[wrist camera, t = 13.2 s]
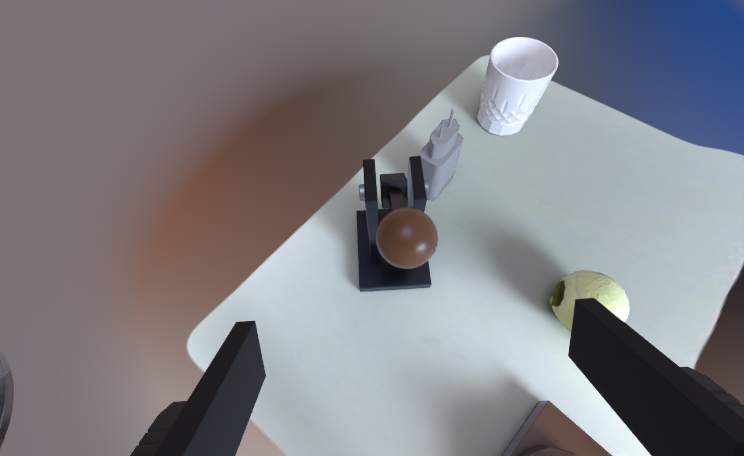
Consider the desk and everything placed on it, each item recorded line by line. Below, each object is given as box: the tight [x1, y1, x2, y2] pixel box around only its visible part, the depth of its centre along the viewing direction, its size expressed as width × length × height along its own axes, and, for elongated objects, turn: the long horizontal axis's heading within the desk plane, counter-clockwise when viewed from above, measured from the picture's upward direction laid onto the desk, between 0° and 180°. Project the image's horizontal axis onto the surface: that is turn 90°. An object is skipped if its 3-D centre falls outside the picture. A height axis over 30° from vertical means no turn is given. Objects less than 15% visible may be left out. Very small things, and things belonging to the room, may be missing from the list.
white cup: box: [477, 37, 558, 136], centre depth 47 cm, size 8×8×10 cm
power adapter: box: [419, 109, 463, 200], centre depth 42 cm, size 3×5×12 cm, turn 143°
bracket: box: [357, 156, 431, 292], centre depth 36 cm, size 10×8×15 cm
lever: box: [376, 173, 438, 269], centre depth 26 cm, size 14×4×4 cm
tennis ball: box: [550, 270, 629, 331], centre depth 36 cm, size 6×7×7 cm
